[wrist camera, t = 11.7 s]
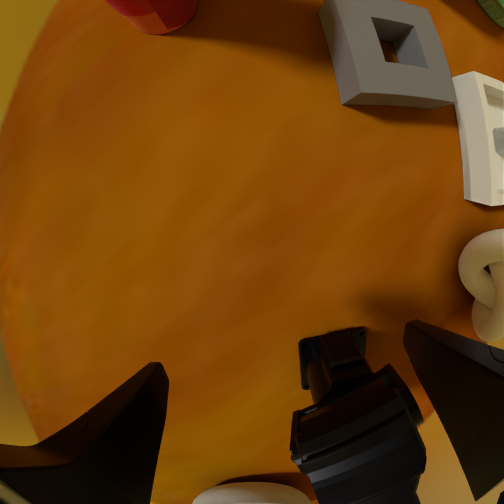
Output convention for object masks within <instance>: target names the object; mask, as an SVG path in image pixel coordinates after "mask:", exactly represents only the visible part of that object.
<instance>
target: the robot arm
mask: <svg viewBox="0 0 504 504" xmlns="http://www.w3.org/2000/svg"><path fill="white" fill-rule="evenodd" d="M360 332H362V333H361V334H360ZM366 334H367V332H366V330H365V328H364V327H359V328H355V329H350V330H345V331H340V332H335V333H331V334H326V335H322V336H317V337H311V338H306V339H302V340H300V341H299V343H298V346H299V358H300V371H301V385H302V389H304V390H309V389H310V390H311V394H312V398H313V402H314V405H311V406H309V407H307V408H304V409H302V410H297V411H295V412H293V419H292V427H291V440H290V452H291V454H292V455H291V460H292V461H293V462H294V463H296V464H297V466H298V468H299V469H300V471H301V472H302V473H303V474H304V475H305V476H309V478H310V481H311V483H312V485H313V488H314V491H315V494H316V497H317V500H318V503H319V504H421V503H420V501H419V498H418V496H417V493H416V490H417V486H418V483H419V479H420V476H421V474H422V473H424V471H425V466H426V448H425V445H424V443H423V441H422V439H421V436H420V434H419V432H418V429H417V426H419V425H420V424H422V423H423V417H422V414H421V411H420V409H419V407H418V405H417V403H416V401H415V399H414V397H413V395H412V393H411V391H410V390H409V388H408V387H407V385H406V384H405V383H404V381H403V380H402V379H401V378H400V376H399V375H398V374H397V372H396V371H395V370H394V369H393V367H392V366H391V365H390V363H389V364H387V365H385V366H384V368H383V369H381V370H379V371H378V372H376V373H373V371H372V369H371V367H370V365H369V364H368V362H367V360H366V358H365V346H366ZM303 344H306V345H303ZM403 344H404V347H405V349H406V352H407V354H408V356H409V358H410V361H411V363H412V365H413V368H414V370H415V373H416V375H417V377H418V379H419V381H420V382H421V384H422V386H423V388H424V390H425V392H426V393H427V395H428V397H429V399H430V401H431V403H432V405H433V407H434V409H435V411H436V412H437V414H438V416H439V418H440V420H441V422H442V424H443V426H444V429H445V431H446V433H447V434H448V437H449V439H450V441H451V443H452V445H453V448H454V450H455V452H456V454H457V457H458V459H459V461H460V464H461V466H462V469H463V471H464V473H465V476H466V478H467V481H468V483H469V486H470V488H471V491H472V494H473V497H474V499H475V501H477V500H479V499H480V498H482V497H483V496H484V495H486V494H487V493H488V492H490V491H491V490H492V489H494V488H495V487H496V486H498V485H499V484H500V483H501V482H503V481H504V350H502V349H499V348H496V347H493V346H490V345H489V346H488V345H487V344H485V343H482V342H479V341H476V340H473V339H470V338H467V337H464V336H461V335H459V334H456V333H453V332H450V331H447V330H444V329H441V328H439V327H436V326H433V325H430V324H427V323H424V322H422V321H419V320H412V321H409V322H407V323H406V326H405V332H404V338H403ZM306 385H307V386H306ZM168 391H169V379H168V376H167V374H166V372H165V370H164V367H163V365H162V364H161V363H160V362H150V363H148V364H147V365H146V366H145V367H143V368H142V369H141V370H140V371H138V372H137V373H136V374H135V375H133V376H132V377H131V378H130V379H128V380H127V381H126V382H124V383H123V384H122V385H121V386H119V387H118V388H117V389H115V390H114V391H113V392H112V393H110V394H109V395H108V396H106V397H105V398H104V399H103V400H101V401H100V402H99V403H97V404H96V405H95V406H93V407H92V408H91V409H90V410H88V412H86V413H84V414H83V415H82V416H80V417H79V418H78V419H76V420H75V421H73V422H72V423H71V424H69V425H67V426H66V427H64V428H63V429H61V430H60V431H58V432H56V433H55V434H53V435H51V436H50V437H48V438H46V439H45V440H43V441H41V442H39V443H37V444H35V445H32V446H15V445H6V444H0V504H150V501H151V495H152V488H153V483H154V477H155V471H156V466H157V460H158V455H159V450H160V445H161V440H162V435H163V430H164V425H165V420H166V413H167V401H168ZM497 504H504V491H503V492H501V493H500V496H499V499H498V502H497Z"/></svg>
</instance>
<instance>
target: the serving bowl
mask: <svg viewBox="0 0 504 504" xmlns="http://www.w3.org/2000/svg"><path fill="white" fill-rule="evenodd" d="M192 504H311V502H310V500H309V498H308V497H307V496H306V495H305V494H304V493H303V492H301V491H300V490H298V489H296V488H293V487H291V486H287V485H283V484H278V483H269V482H239V483H230V484H223V485H219V486H215V487H212V488H210V489H207V490H206V491H204V492H202V493H201V494H199V495H198V496H197V497H196V499H195V500H194V501H193V503H192Z"/></svg>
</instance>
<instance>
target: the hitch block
mask: <svg viewBox="0 0 504 504" xmlns="http://www.w3.org/2000/svg"><path fill="white" fill-rule="evenodd" d="M318 15H319V18H320V21H321V24H322V27H323V31H324V34H325V38H326V41H327V45H328V48H329V52H330V56H331V60H332V64H333V68H334V72H335V76H336V81H337V85H338V90H339V95H340V100H341V105H389V106H405V107H416V108H426V109H433V108H437V107H441V106H446V105H451V104H455V103H458V101H457V97H456V92H455V88H454V84H453V80H452V76H451V73H450V69H449V66H448V62H447V59H446V56H445V53H444V50H443V47H442V44H441V41H440V39H439V36H438V33H437V31H436V28H435V26H434V23H433V21H432V18H431V16H430V14H429V12H428V9H425V8H422V7H419V6H415V5H412V4H409V3H405V2H401V1H397V0H324V2H323V4H322V6H321V8H320V10H319V12H318ZM379 40H385V41H391V42H393V45H394V48H395V52H396V55H397V58H398V62H399V63H392V62H385V59H384V55H383V52H382V48H381V45H380V42H379Z"/></svg>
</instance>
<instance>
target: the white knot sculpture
mask: <svg viewBox="0 0 504 504" xmlns="http://www.w3.org/2000/svg"><path fill="white" fill-rule="evenodd" d="M487 265H489V269H490V272H491V274H489V273H488V272H487V271H485V270H484V267H485V266H487ZM458 271H459V275H460V278H461V281H462V283H463V285H464V286H465V288H466V289H467V290H468V291H469V292H470V293H471V294H472V295H473V296H474V297H475V300H474V303H473V307H472V324H473V329H474V332H475V333H476V334H477V336H478V337H479V338H480V339H481V340H483V341H485V342H496V341H498V340H500V339H501V338H503V337H504V229H496V230H491V231H488V232H484V233H482V234H480V235H478V236H476V237H475V238H473V239H472V240H471V241H469V242H468V244H467V245H466V246H465V247H464V249H463V251H462V253H461V255H460V257H459V261H458Z"/></svg>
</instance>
